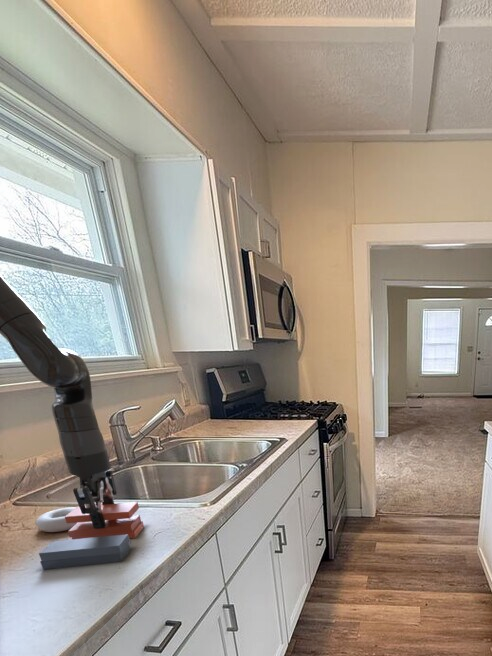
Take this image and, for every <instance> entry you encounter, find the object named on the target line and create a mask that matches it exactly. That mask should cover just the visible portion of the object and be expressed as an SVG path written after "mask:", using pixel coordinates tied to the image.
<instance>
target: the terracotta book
mask: <svg viewBox="0 0 492 656" xmlns="http://www.w3.org/2000/svg"><path fill="white" fill-rule="evenodd" d="M95 506H96V504H95ZM85 507H86V505H85ZM74 508H75V509H74V510H73V511H71V512H70V513H69V514H68V515H66V516H65V520H66V523H78V522H91V518H90V514H82V512H81V510H80V507H79V505H78V506H76V507H74ZM139 509H140V506H139V502H138V501H134V502H133V501H131V502H122V503H121V502H120V503H114V504H105V505H102V504H101V512H102V514H103V517H104V520H115V519H127V518H131V517H132V516H133V515H135V514H136V513H137V511H138V510H139Z"/></svg>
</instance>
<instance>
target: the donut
mask: <svg viewBox="0 0 492 656" xmlns="http://www.w3.org/2000/svg"><path fill="white" fill-rule="evenodd" d="M75 508H76V507H61V508H56V509H54V510H50V511H47V512H45V513H43V514H41V515H39V516H38V517H37V519H36V522H35V525H36V527H37V529H39V530H40V531H42V532H46V533H60V532H65V531H69V530H70V529H71V528H72V527H73V526H74V525H75V524H77V523H66V520H65V516H66V515H68V514H69V513H70V512H71V511H73V510H74V509H75Z"/></svg>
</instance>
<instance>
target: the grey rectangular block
mask: <svg viewBox="0 0 492 656" xmlns="http://www.w3.org/2000/svg"><path fill="white" fill-rule="evenodd" d="M130 543H131V538H129V535H128V534H126V535H115V536H104V537H93V538H82V539H72V538H71V539H61V540H53V541H51V543H49V544H48V545H47V546H45V548H43V549H42V550H41V551H40V552H39V553H38V555H39V559H40V561H39V563H40V565H41V568H42V570H52V569H62V568H71V567H80V566H91V565H98V564H99V565H101V564H109V563H119V562H123V560H124V559H125V558H126V556H127V555H128V554H129V553H130V551H131V545H130Z"/></svg>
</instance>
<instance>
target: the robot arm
mask: <svg viewBox="0 0 492 656" xmlns="http://www.w3.org/2000/svg"><path fill="white" fill-rule="evenodd" d="M46 332H47V327H46V325H45V323H44V322H43V321H42V319H41V318H40V317H39V315H38V314H37V313H36V312H35V311H34V309H32V308H31V306H30V305H29V304H28V303H27V302H26V301H25V300H24V299H23V298H22V297H21V296H20V295H19V293H17V292H16V291H15V289H13V287H12V286H11V285H10V284H9V283H8V282H7V281H6V280H5V279H4V278H3V276H2V275H1V274H0V336H2V337H3V338H4V339H5V340H6V341H7V343H8V344H9V346H10V347H11V349H12V350H13V352H14V353H15V354H16V356H17V358H19V360H20V361H21V363H22V364H23V365H24V367H25V368H26V370H28V372H29V373H30V374H31V375H32V376H33V377H34V378H35V379H37V380H38V381H39V382H40V383H42V384H44V385H46V386H48V387H49V388H50V387H51V388H53V392H54V400H53V401H52V403H51V407H50V409H51V415H52V417H53V421H54V424H55V427H56V430H57V434H58V440H59V445H60V449H61V450H62V451H61V452H62V454H63V457H64V460H65V463H66V467H67V469H68V473H69V474H70V475H72V476H76V477H78V478H79V487H74V488H73V489H72V492H73V494H74V497H75V500H76V502H77V504H78V506H79V507H80V510H81V512H82V514H90V518H91V521H92V524H93V527H94V528H95V529H101V528H104V527H105V526H106V524H105V520H104V517H103V514H102V512H101V505H105V504H115V499H116V498H115V496H117V494H118V491H117V487H116V484H115V479H114V474H113V471H112V469H111V468H112V465H111V461H110V458H109V455H108V449H107V446H106V443H105V439H104V437H103V434H102V432H101V429H100V426H99V424H98V419H97V416H96V413H95V409H94V407H93V406H94V405H93V391H92V381H91V375H90V372H89V371H90V370H89V368H88V365H87V363H86V362H85V360H84V359H83V358H82V357H81V356H80V355H79V354H78V353H77V352H75V351H73V350H71V349H66V348H59V347H58V346H57V345H56V344H55V343H54V342H53V341H52V339H51V338H50V336H49V335H48V334H47V333H46ZM95 505H96V506H95ZM85 506H86V507H85Z"/></svg>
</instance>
